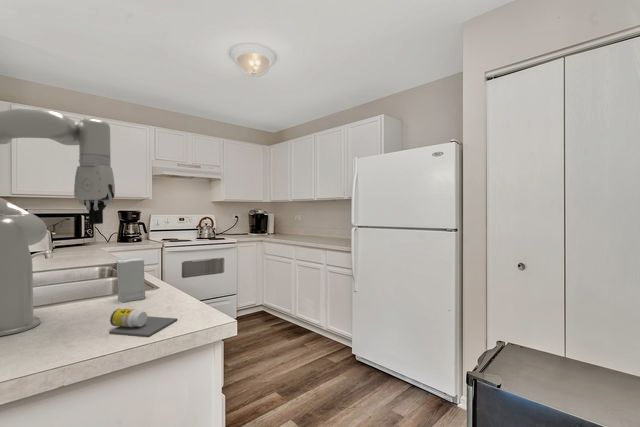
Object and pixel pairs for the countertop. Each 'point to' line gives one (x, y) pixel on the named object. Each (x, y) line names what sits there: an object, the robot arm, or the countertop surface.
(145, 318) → the supplement bottle
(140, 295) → the skincare box
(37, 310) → the countertop surface
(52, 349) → the countertop surface
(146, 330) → the mat
